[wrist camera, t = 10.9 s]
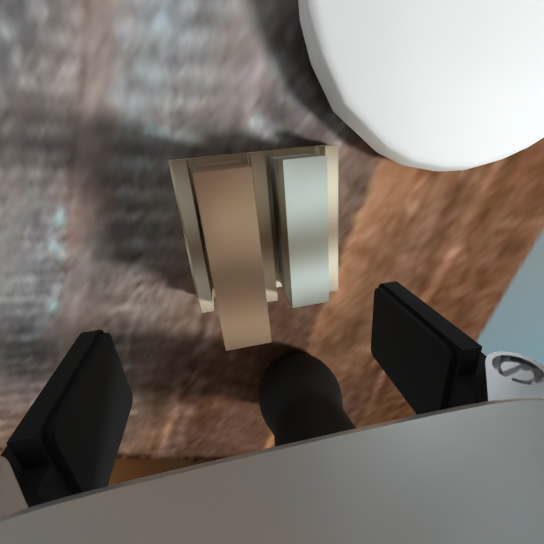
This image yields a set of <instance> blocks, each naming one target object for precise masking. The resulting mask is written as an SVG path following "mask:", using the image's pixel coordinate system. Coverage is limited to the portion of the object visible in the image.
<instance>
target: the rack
mask: <svg viewBox="0 0 544 544" xmlns="http://www.w3.org/2000/svg"><path fill="white" fill-rule="evenodd" d="M237 159H238V160H240V161H242V162H244V163H246V164H248V165H249V166H251V167H252V175H253V184H254V193H255V202H256V210H257V219H258V228H259V237H260V246H261V254H262V263H263V272H264V281H265V290H266V299H267V302H270V301H276V300H278V298H277V287H283V289H284V291H285V293H286V295H287V297H288V299H289V301H290V303H291V305H292V307H293V308H294V307H300V306H306V305H312V304H318V303H324V302H329V292H331V291H337V290H338V145H332V144H327V145H317V146H307V147H296V148H286V149H276V150H266V151H256V152H245V153H235V154H225V155H215V156H204V157H194V158H184V159H174V160H168V162H169V167H170V172H171V177H172V182H173V186H174V191H175V196H176V201H177V206H178V210H179V215H180V220H181V225H182V230H183V234H184V239H185V244H186V249H187V253H188V258H189V263H190V268H191V273H192V277H193V282H194V287H195V292H196V297H197V300H199V301H200V306H201V311H202V313H204V312H210V311H214V297H216V296H215V290H214V285H213V280H212V275H211V269H210V264H209V259H208V253H207V248H206V243H205V237H204V232H203V227H202V222H201V216H200V211H199V206H198V200H197V195H196V190H195V184H194V179H193V174H192V173H193V172H194V170H195V169H196V167H197V166H198V164H200V163H210V162H219V161H228V160H237Z"/></svg>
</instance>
